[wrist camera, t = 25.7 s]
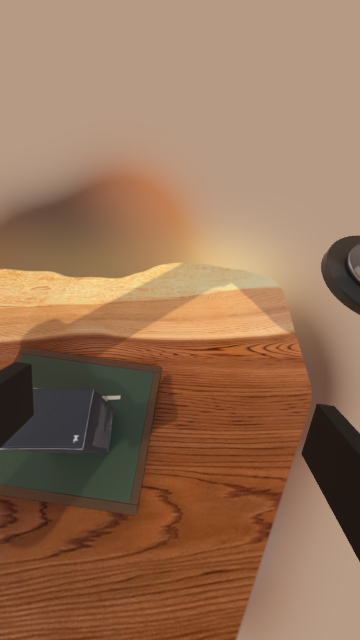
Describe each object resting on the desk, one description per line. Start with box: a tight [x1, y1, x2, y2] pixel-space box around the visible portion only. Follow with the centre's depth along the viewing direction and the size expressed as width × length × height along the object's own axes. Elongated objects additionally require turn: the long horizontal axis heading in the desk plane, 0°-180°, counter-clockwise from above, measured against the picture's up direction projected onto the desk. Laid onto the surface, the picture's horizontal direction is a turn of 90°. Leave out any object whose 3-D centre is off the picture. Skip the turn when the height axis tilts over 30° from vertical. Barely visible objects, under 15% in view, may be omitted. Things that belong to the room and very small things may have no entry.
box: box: [0, 388, 114, 453], centre depth 27 cm, size 8×6×11 cm
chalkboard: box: [0, 348, 162, 516], centre depth 33 cm, size 22×18×1 cm
